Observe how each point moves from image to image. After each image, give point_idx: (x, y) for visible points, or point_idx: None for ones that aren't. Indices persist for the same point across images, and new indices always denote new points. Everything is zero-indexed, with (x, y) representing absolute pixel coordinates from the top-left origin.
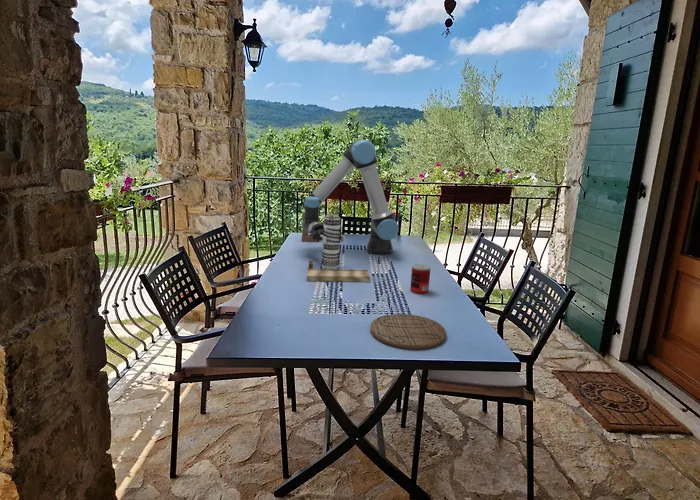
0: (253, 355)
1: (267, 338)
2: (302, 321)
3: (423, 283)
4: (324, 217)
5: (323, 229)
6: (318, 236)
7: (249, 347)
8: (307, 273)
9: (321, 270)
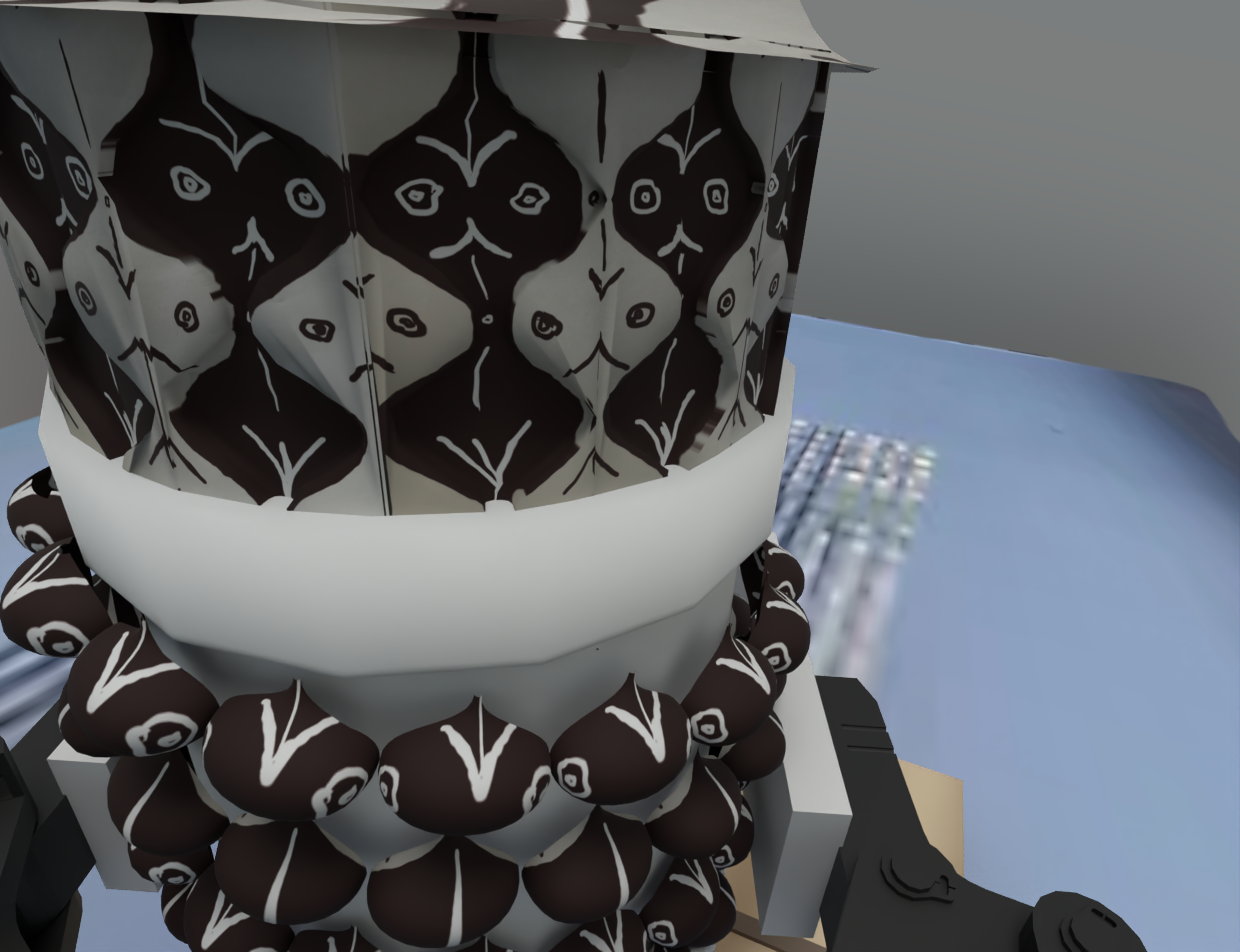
0: (1088, 367)
1: (1073, 396)
2: (962, 423)
3: None
4: (811, 53)
5: (772, 586)
6: (903, 803)
7: (1115, 385)
8: (962, 856)
9: (750, 912)
